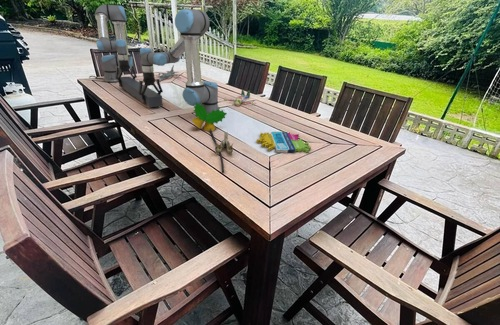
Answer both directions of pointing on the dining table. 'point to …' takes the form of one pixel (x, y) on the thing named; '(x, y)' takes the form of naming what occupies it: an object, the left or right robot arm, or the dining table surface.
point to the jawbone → (224, 145)
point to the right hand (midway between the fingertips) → (152, 102)
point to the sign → (283, 142)
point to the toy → (241, 99)
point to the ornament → (207, 117)
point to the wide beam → (133, 88)
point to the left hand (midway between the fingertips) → (127, 86)
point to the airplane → (167, 74)
